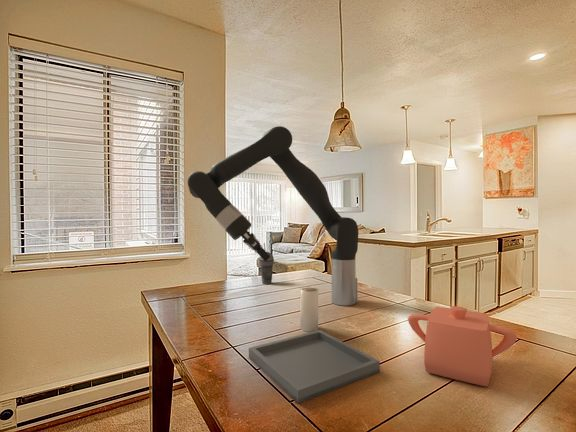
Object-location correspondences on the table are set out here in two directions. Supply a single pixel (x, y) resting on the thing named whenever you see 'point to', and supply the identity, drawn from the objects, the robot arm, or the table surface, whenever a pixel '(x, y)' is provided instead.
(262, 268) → the beverage cup
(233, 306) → the table surface
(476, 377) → the teapot
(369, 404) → the table surface
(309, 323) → the cream cup
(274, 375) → the charcoal tray
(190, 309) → the table surface
